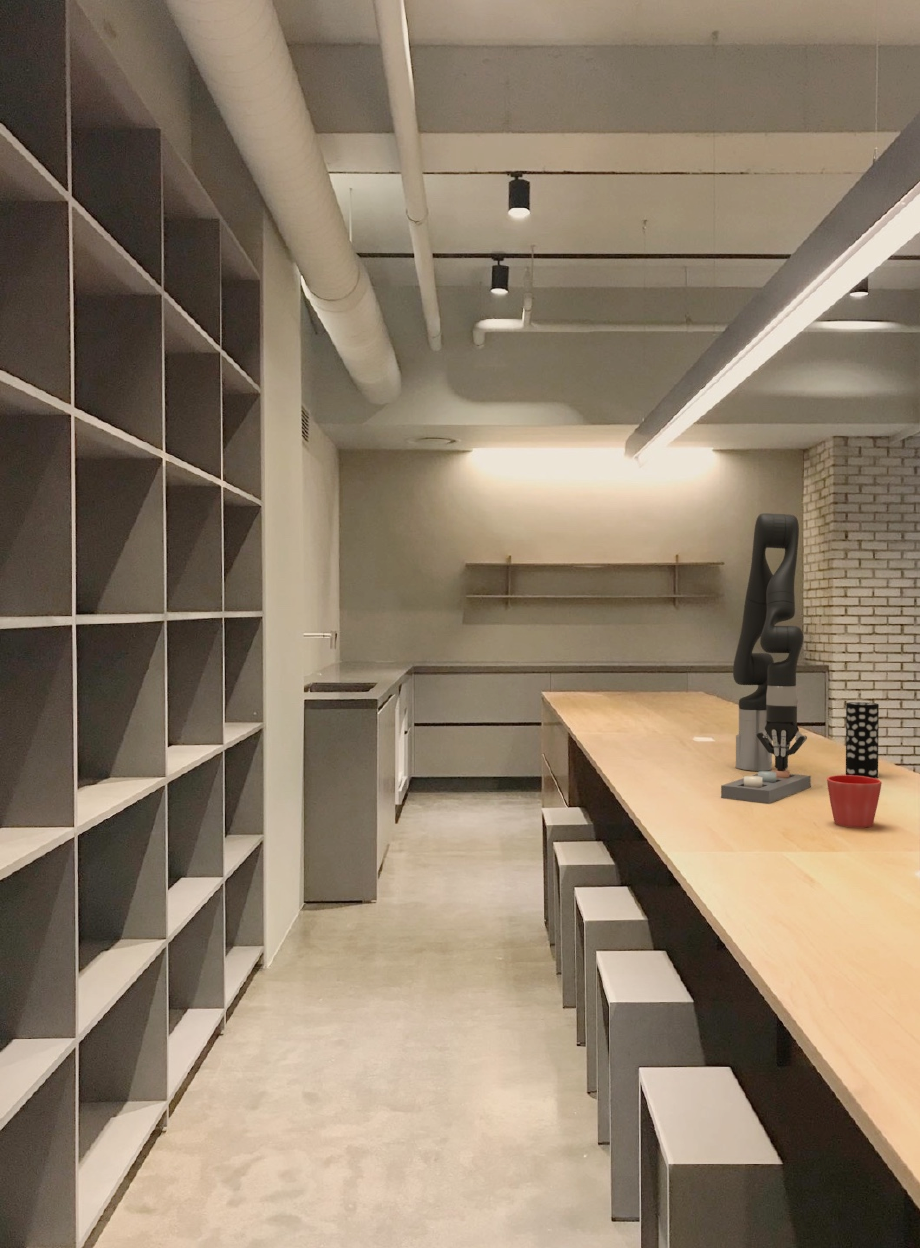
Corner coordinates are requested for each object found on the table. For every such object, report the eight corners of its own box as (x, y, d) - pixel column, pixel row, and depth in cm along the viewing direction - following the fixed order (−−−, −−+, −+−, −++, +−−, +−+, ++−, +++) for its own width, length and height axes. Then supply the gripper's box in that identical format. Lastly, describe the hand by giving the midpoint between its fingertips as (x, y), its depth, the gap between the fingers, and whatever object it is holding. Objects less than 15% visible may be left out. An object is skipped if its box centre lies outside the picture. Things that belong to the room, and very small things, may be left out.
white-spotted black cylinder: (845, 777, 280) (845, 704, 280) (846, 773, 288) (846, 701, 287) (878, 779, 277) (878, 705, 276) (878, 775, 284) (878, 702, 284)
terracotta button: (768, 782, 264) (769, 770, 264) (775, 780, 268) (775, 768, 268) (785, 784, 262) (785, 772, 261) (792, 781, 265) (792, 770, 265)
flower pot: (882, 831, 213) (882, 784, 213) (826, 827, 217) (826, 781, 217) (880, 821, 223) (880, 776, 223) (826, 817, 227) (827, 773, 227)
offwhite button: (740, 789, 250) (740, 777, 250) (747, 787, 254) (747, 775, 254) (758, 791, 247) (758, 779, 247) (765, 789, 251) (765, 777, 251)
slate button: (755, 784, 257) (755, 772, 257) (762, 782, 261) (762, 770, 261) (772, 786, 254) (772, 774, 254) (778, 784, 258) (779, 772, 258)
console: (721, 797, 250) (721, 785, 250) (765, 782, 272) (765, 771, 272) (769, 803, 243) (769, 791, 243) (810, 787, 265) (810, 775, 265)
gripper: (751, 703, 265) (751, 770, 265) (802, 705, 257) (801, 774, 257) (762, 701, 271) (762, 766, 271) (812, 703, 263) (812, 771, 263)
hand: (781, 770), depth 264 cm, fingers closed
